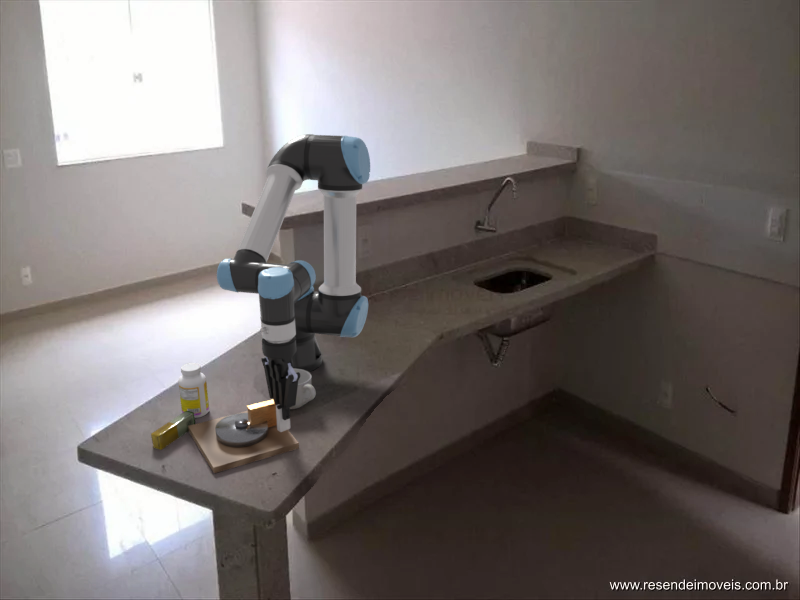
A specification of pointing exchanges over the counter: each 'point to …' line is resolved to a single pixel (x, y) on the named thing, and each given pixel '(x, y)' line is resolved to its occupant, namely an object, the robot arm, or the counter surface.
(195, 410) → the supplement bottle
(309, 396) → the teacup
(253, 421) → the dial
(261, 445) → the board
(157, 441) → the medication box
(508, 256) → the counter surface
